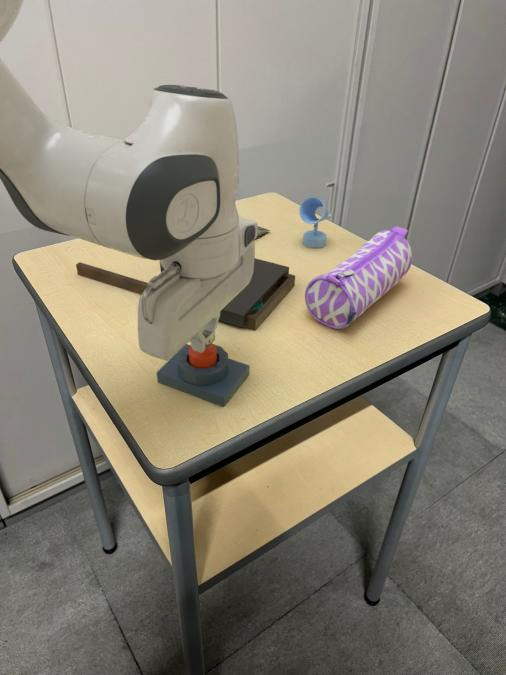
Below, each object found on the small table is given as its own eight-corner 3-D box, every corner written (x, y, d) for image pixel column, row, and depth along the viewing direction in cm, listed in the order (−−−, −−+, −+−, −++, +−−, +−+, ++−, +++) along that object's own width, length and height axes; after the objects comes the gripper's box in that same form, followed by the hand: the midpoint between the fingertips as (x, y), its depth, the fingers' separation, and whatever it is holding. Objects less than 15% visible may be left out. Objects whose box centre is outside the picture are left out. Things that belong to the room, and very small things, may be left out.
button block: (157, 382, 68) (155, 361, 66) (186, 353, 73) (185, 333, 71) (223, 407, 64) (223, 386, 62) (249, 375, 69) (249, 354, 67)
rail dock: (77, 274, 90) (75, 264, 89) (131, 240, 101) (130, 231, 99) (255, 330, 78) (255, 319, 76) (294, 285, 88) (295, 275, 87)
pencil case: (348, 343, 76) (358, 287, 70) (295, 320, 80) (300, 266, 74) (410, 283, 90) (422, 233, 84) (362, 266, 94) (370, 218, 89)
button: (183, 364, 66) (182, 353, 65) (198, 348, 69) (198, 338, 68) (207, 372, 65) (207, 362, 64) (222, 357, 67) (221, 346, 66)
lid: (149, 298, 83) (146, 269, 80) (204, 255, 95) (203, 229, 92) (243, 327, 77) (243, 298, 74) (288, 278, 89) (290, 251, 86)
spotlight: (318, 253, 98) (331, 239, 103) (323, 203, 92) (337, 191, 97) (294, 247, 100) (308, 234, 105) (298, 197, 94) (313, 186, 99)
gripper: (168, 297, 48) (178, 404, 56) (264, 218, 63) (261, 313, 71) (114, 280, 50) (131, 386, 59) (219, 208, 65) (221, 301, 73)
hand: (203, 345), depth 65 cm, fingers closed
